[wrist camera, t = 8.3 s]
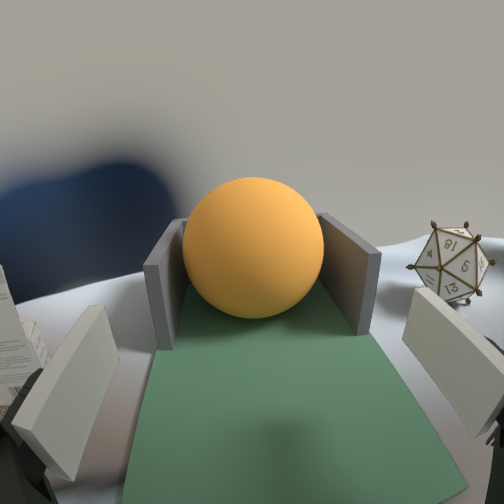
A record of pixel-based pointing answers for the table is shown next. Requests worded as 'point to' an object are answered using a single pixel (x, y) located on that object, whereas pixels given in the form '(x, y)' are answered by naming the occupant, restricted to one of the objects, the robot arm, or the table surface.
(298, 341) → the pitch
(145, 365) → the table surface
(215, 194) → the ball
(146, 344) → the table surface
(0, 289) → the ink cartridge box
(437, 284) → the game die
